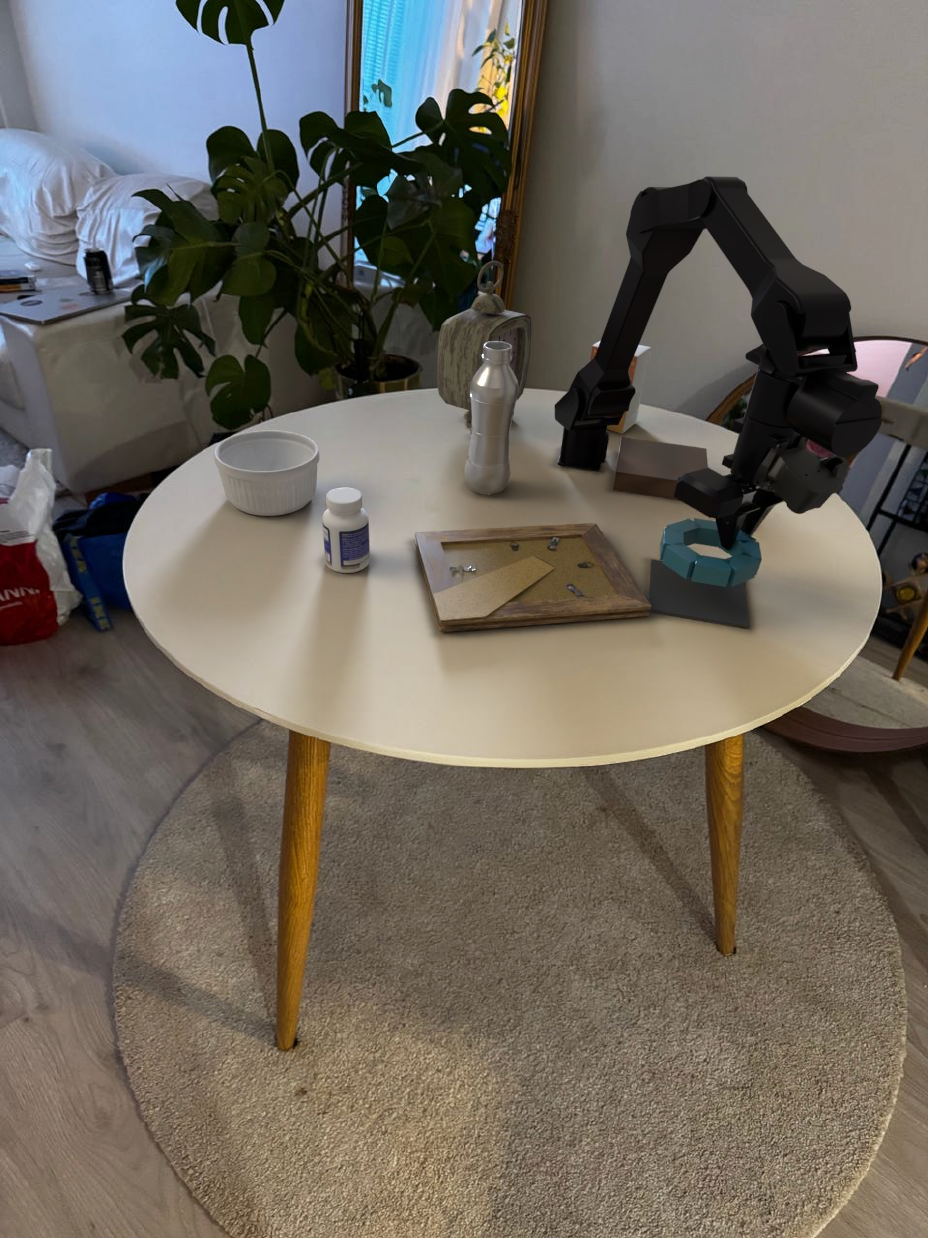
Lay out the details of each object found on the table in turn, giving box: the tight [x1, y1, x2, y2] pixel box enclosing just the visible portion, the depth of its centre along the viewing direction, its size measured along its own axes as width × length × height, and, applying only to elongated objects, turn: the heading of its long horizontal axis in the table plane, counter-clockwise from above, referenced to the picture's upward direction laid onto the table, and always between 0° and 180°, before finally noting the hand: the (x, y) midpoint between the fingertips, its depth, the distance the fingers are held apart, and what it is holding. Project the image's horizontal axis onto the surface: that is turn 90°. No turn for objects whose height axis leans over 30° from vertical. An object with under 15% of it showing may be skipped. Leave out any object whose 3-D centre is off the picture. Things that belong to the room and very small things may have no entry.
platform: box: [612, 436, 709, 502], centre depth 112 cm, size 13×13×3 cm
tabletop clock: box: [436, 260, 532, 435], centre depth 119 cm, size 14×9×25 cm, turn 147°
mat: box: [648, 558, 750, 630], centre depth 88 cm, size 11×11×1 cm
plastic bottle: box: [463, 341, 519, 495], centre depth 101 cm, size 6×7×20 cm
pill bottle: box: [321, 486, 371, 574], centre depth 87 cm, size 5×5×9 cm
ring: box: [659, 517, 763, 587], centre depth 85 cm, size 11×11×2 cm
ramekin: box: [213, 429, 320, 517], centre depth 99 cm, size 13×13×7 cm
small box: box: [589, 340, 652, 435], centre depth 125 cm, size 8×6×13 cm
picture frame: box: [414, 522, 651, 633], centre depth 89 cm, size 19×2×24 cm
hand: (733, 545), depth 87 cm, fingers closed on ring, 2 cm apart
